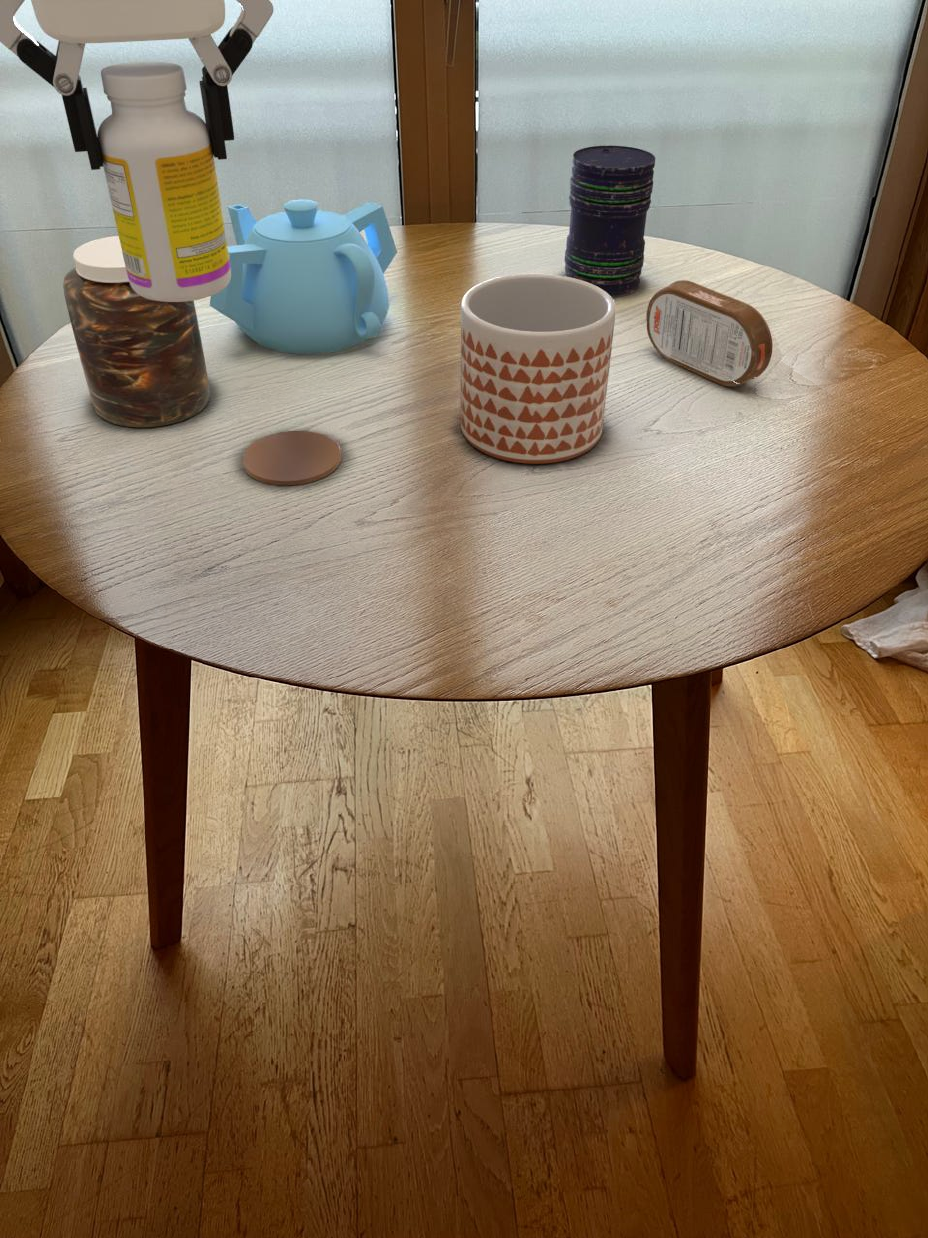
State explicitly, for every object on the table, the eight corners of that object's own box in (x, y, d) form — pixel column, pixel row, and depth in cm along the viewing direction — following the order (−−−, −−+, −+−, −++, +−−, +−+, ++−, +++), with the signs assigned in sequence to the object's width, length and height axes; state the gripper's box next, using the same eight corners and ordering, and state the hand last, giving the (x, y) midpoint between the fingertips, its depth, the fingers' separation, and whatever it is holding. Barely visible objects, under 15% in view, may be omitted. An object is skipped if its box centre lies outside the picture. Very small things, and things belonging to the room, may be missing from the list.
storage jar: (652, 294, 119) (669, 165, 109) (577, 300, 117) (588, 170, 108) (624, 265, 126) (638, 142, 117) (553, 271, 125) (561, 147, 115)
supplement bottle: (245, 271, 66) (216, 59, 58) (215, 308, 61) (179, 82, 53) (151, 266, 67) (110, 55, 59) (114, 302, 62) (63, 77, 54)
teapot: (399, 296, 118) (394, 177, 109) (387, 366, 103) (379, 235, 94) (244, 295, 118) (226, 176, 109) (210, 365, 104) (186, 234, 95)
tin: (765, 391, 99) (783, 312, 94) (746, 400, 98) (763, 321, 92) (655, 343, 108) (666, 268, 103) (636, 351, 107) (646, 275, 101)
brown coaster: (252, 493, 84) (251, 488, 84) (235, 444, 91) (234, 439, 90) (352, 475, 86) (351, 470, 86) (328, 428, 93) (328, 424, 93)
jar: (229, 379, 101) (205, 233, 91) (184, 433, 92) (152, 278, 82) (124, 369, 102) (89, 225, 93) (70, 422, 94) (26, 268, 84)
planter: (499, 385, 100) (503, 262, 92) (622, 416, 95) (638, 289, 87) (434, 443, 91) (432, 313, 83) (567, 480, 86) (579, 346, 78)
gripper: (-115, -236, 43) (6, 189, 54) (274, -228, 47) (310, 163, 58) (-97, -231, 48) (9, 154, 60) (250, -225, 52) (287, 133, 64)
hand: (157, 155), depth 59 cm, fingers closed on supplement bottle, 6 cm apart
